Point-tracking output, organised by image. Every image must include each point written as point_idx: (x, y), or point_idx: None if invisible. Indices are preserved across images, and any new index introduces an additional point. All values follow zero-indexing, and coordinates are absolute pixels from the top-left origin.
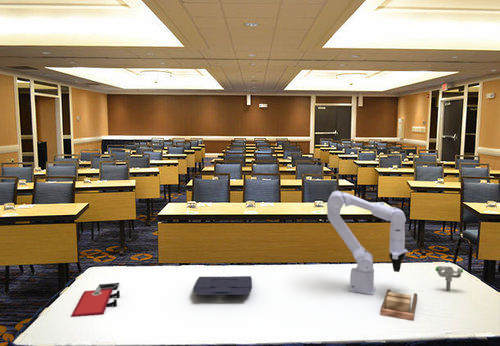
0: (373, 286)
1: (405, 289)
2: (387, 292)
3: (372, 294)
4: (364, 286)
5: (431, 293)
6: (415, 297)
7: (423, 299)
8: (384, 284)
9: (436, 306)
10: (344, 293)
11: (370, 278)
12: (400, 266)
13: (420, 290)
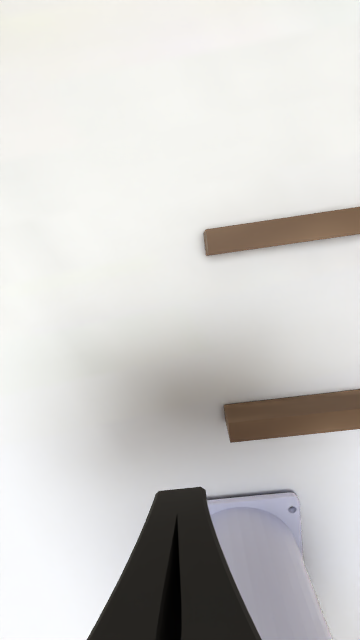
0: (231, 528)
1: (77, 341)
2: (296, 429)
3: (293, 493)
4: (310, 581)
5: (38, 154)
6: (300, 225)
7: (196, 186)
8: (73, 473)
9: (287, 62)
10: (343, 612)
11: (312, 627)
12: (186, 559)
13: (30, 243)
